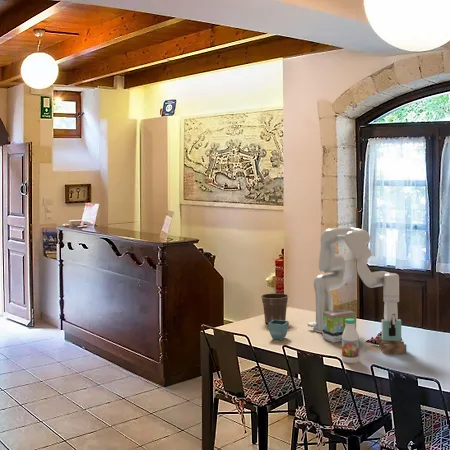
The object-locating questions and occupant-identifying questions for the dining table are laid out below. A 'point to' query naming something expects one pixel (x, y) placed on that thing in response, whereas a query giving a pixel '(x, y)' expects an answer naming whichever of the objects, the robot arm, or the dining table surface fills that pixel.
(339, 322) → the tea box
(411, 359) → the dining table surface
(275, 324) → the flower pot
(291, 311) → the dining table surface
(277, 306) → the plant pot
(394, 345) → the rack
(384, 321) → the mint green block
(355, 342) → the milk bottle
